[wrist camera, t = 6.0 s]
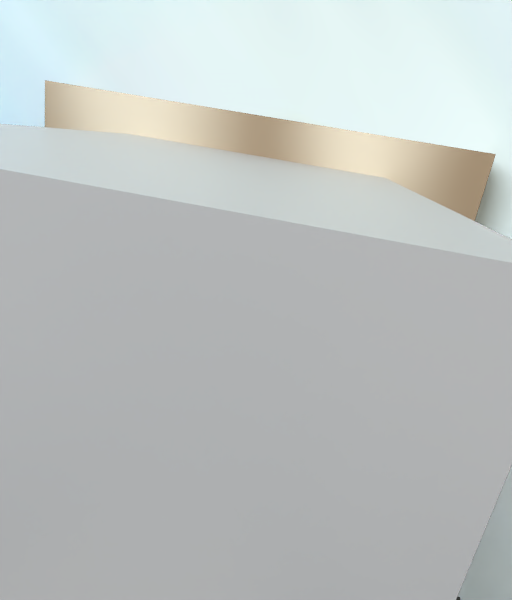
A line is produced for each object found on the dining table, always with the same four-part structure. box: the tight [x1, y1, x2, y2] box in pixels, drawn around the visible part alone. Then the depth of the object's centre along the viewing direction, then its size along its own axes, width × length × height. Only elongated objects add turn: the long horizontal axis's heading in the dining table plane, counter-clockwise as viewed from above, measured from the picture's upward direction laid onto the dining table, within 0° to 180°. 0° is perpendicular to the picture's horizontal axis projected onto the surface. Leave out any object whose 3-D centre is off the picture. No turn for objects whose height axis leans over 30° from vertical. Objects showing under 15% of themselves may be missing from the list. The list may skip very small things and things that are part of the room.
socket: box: [0, 124, 512, 600], centre depth 8 cm, size 4×7×10 cm, turn 81°
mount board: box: [45, 80, 495, 221], centre depth 17 cm, size 12×28×1 cm, turn 171°
